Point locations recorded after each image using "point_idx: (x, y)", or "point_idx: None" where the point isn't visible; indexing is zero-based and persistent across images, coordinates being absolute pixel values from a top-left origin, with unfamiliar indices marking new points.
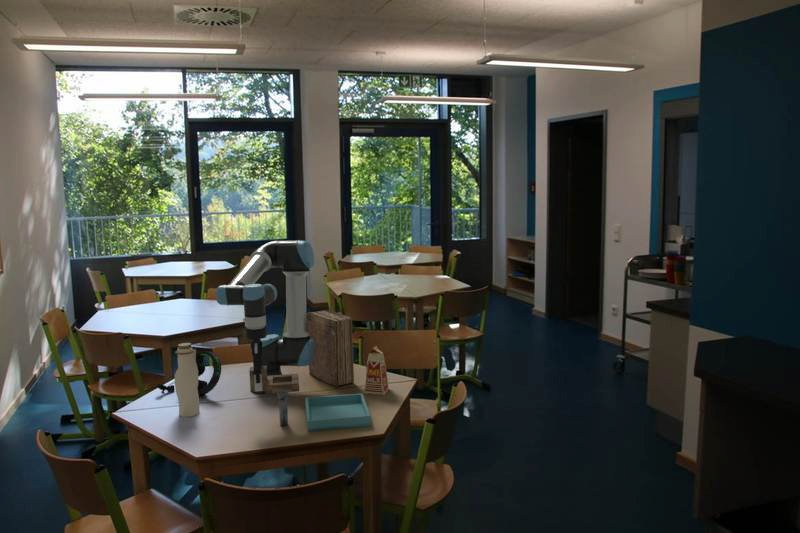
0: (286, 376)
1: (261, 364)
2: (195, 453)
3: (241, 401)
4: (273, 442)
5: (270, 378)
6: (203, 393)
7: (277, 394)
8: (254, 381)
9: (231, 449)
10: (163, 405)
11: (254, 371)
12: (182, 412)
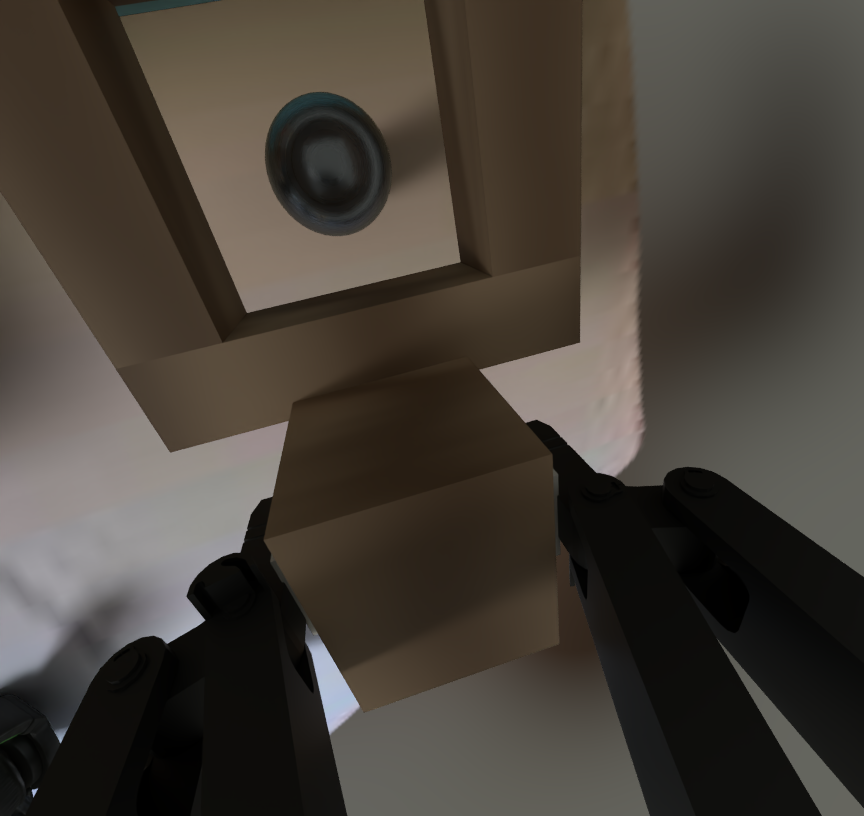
0: (97, 81)
1: (276, 641)
2: (614, 472)
3: (9, 534)
4: (582, 197)
5: (279, 362)
6: (25, 703)
7: (366, 226)
8: None
9: (612, 370)
10: None
11: (731, 570)
12: None
